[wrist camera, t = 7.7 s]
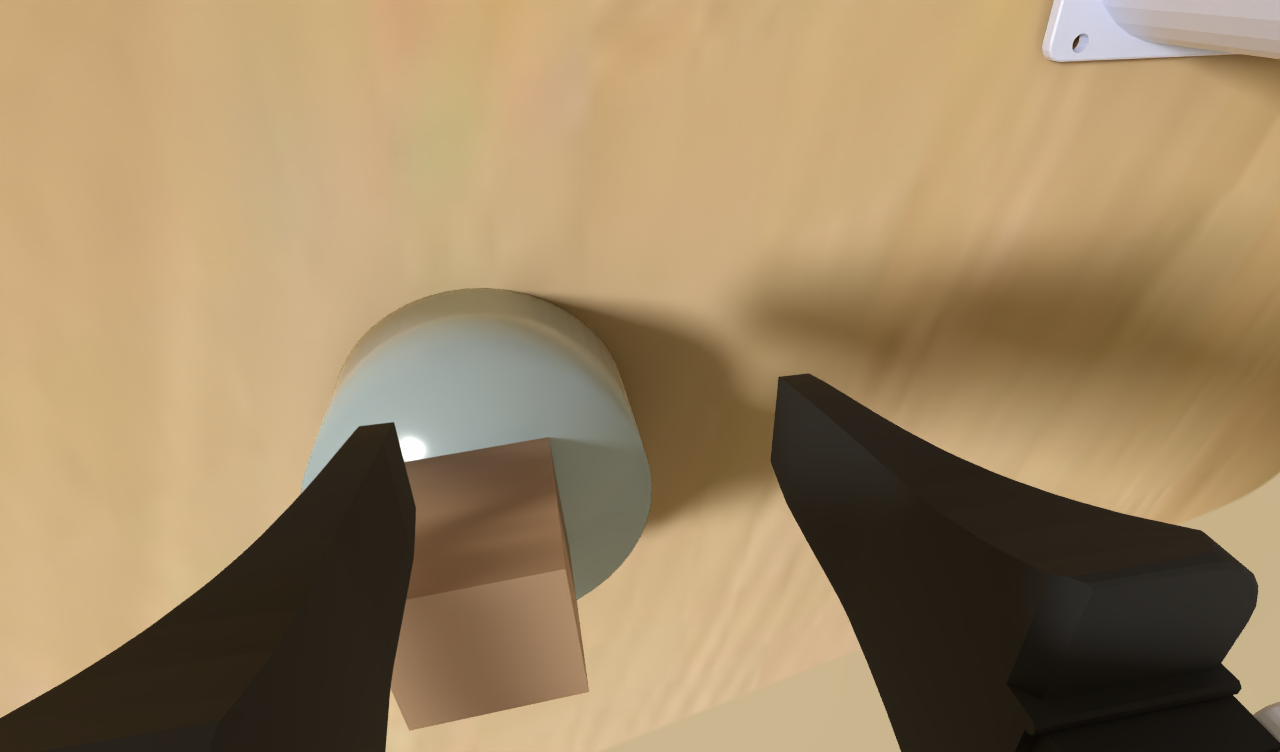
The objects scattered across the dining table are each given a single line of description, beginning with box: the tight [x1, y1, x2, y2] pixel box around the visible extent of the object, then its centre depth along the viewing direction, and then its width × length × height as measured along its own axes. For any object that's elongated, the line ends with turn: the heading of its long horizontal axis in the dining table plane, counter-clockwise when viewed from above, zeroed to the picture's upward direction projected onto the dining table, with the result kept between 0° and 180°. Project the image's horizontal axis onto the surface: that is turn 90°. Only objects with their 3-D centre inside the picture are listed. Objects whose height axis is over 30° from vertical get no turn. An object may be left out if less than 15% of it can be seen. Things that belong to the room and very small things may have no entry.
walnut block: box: [391, 437, 589, 731], centre depth 18 cm, size 4×4×5 cm
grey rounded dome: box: [301, 288, 652, 600], centre depth 23 cm, size 10×10×5 cm
